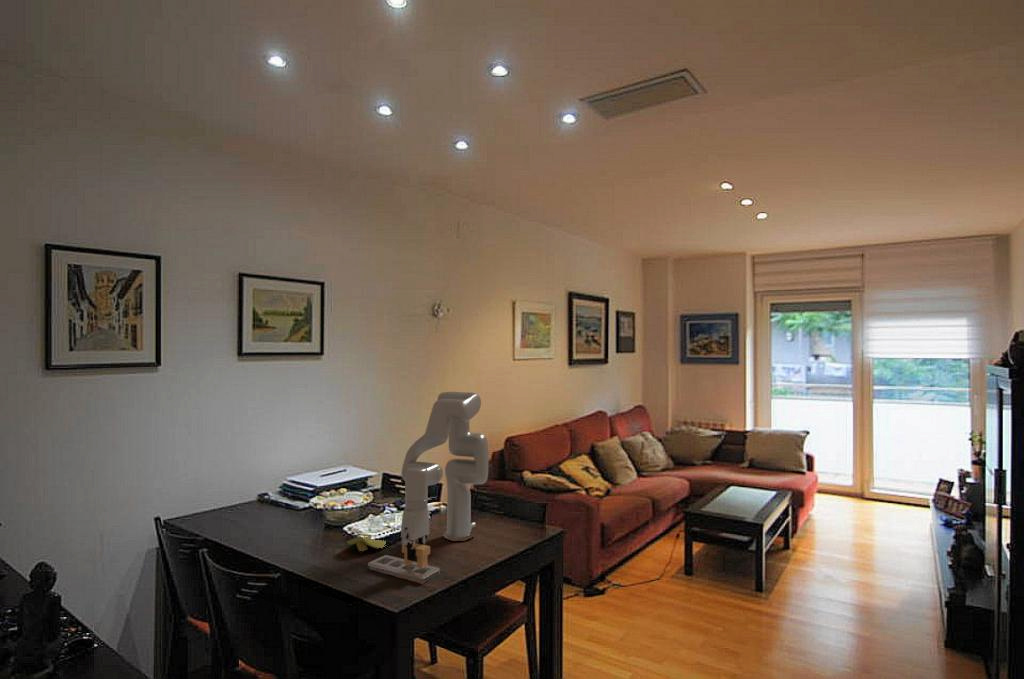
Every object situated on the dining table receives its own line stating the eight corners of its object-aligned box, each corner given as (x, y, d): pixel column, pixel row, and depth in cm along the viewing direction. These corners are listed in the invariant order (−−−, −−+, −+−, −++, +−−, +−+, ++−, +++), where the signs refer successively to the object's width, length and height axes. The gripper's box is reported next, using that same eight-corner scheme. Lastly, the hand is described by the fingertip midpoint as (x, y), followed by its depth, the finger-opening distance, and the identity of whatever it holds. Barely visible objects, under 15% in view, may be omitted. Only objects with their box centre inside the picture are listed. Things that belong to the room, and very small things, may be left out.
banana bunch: (372, 531, 243) (391, 523, 240) (378, 549, 241) (398, 541, 238) (341, 543, 225) (362, 534, 222) (347, 563, 223) (368, 554, 220)
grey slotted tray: (385, 561, 217) (385, 554, 217) (439, 575, 205) (439, 568, 205) (368, 569, 209) (368, 562, 209) (422, 584, 197) (422, 577, 197)
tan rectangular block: (409, 560, 208) (409, 541, 208) (430, 565, 203) (430, 546, 203) (401, 564, 205) (401, 545, 205) (422, 569, 200) (422, 549, 200)
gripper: (423, 497, 213) (422, 548, 213) (391, 508, 199) (390, 563, 199) (440, 500, 209) (439, 552, 209) (408, 511, 195) (408, 568, 195)
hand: (415, 557), depth 204 cm, fingers closed on tan rectangular block, 3 cm apart
